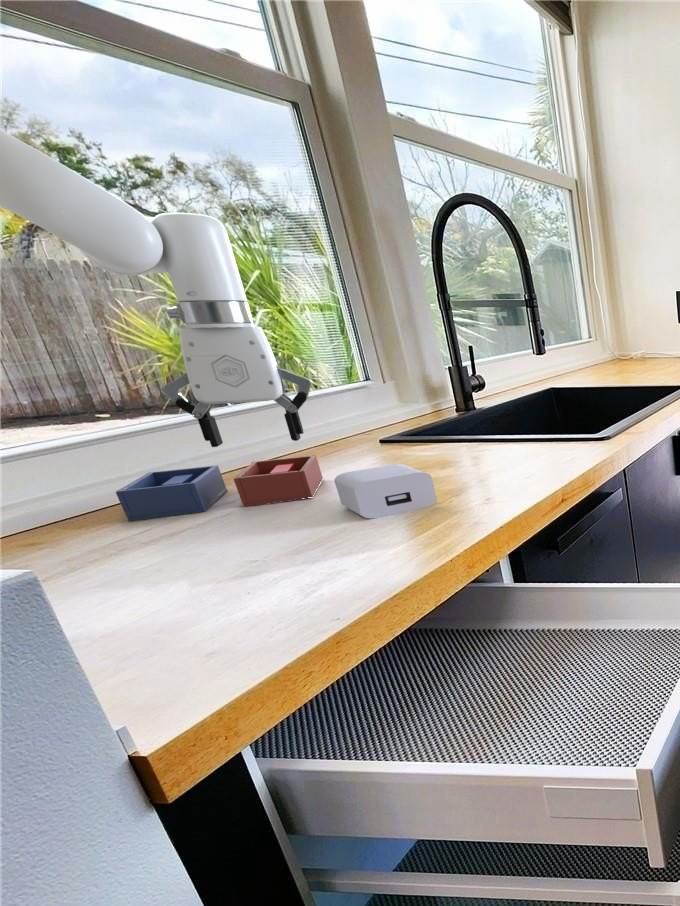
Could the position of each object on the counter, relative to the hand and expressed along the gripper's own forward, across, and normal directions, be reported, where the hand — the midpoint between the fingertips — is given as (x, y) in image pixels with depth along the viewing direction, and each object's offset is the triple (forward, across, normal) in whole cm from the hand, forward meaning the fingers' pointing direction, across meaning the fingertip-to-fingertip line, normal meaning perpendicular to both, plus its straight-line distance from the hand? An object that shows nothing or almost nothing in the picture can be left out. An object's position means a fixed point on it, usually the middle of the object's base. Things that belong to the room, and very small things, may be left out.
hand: (257, 442), depth 101 cm
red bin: (+7, +2, -2) cm, 8 cm away
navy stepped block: (+7, -10, -2) cm, 13 cm away
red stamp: (+7, +2, -2) cm, 7 cm away
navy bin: (+7, -10, -2) cm, 13 cm away
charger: (+7, +16, -18) cm, 25 cm away
